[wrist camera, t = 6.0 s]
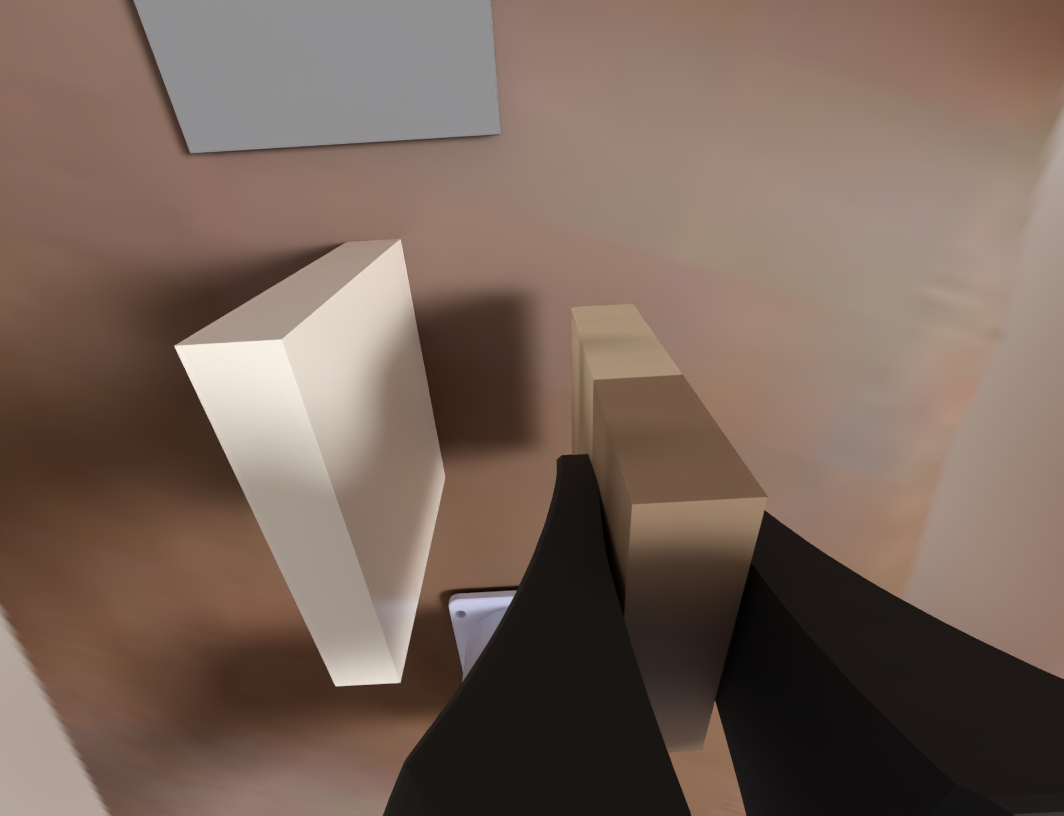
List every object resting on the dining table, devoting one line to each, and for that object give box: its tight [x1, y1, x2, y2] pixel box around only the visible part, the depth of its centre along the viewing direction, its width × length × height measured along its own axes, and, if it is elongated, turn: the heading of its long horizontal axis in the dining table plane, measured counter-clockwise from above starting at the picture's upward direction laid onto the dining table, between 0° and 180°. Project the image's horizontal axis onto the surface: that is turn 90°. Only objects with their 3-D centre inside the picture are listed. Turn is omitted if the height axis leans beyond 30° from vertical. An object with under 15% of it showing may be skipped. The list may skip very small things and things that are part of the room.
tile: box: [174, 239, 445, 686], centre depth 13 cm, size 9×2×8 cm, turn 3°
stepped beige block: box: [571, 304, 768, 752], centre depth 10 cm, size 6×2×8 cm, turn 3°
